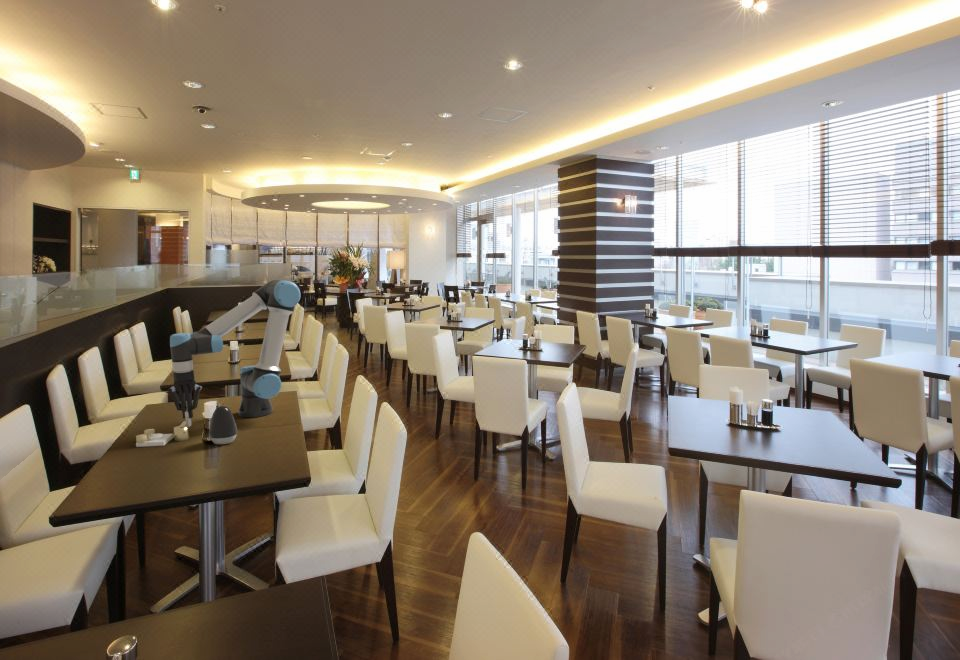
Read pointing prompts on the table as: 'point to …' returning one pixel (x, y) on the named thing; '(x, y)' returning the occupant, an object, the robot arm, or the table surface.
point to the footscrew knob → (181, 432)
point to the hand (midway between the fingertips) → (188, 425)
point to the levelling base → (152, 438)
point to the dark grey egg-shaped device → (222, 426)
